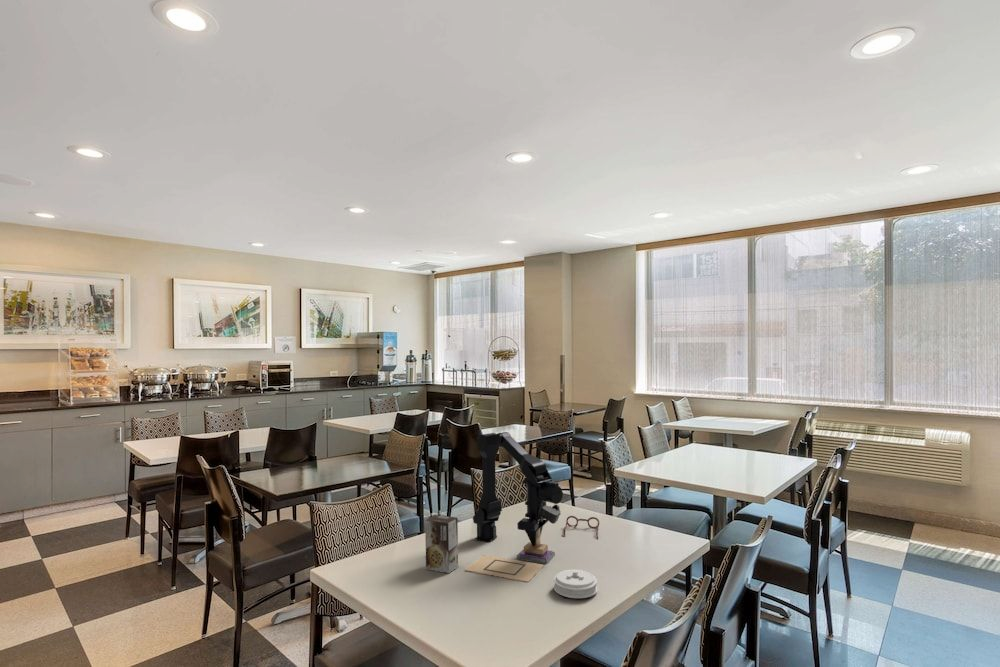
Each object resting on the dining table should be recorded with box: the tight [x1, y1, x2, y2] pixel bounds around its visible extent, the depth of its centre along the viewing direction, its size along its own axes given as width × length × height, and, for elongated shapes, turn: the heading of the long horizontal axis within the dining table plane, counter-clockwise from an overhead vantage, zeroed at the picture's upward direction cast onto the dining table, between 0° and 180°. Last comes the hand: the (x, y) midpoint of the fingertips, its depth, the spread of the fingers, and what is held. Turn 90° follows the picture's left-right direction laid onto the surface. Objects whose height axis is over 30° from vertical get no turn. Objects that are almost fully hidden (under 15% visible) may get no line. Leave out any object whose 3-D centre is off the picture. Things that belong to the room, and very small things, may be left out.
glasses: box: [563, 515, 600, 539], centre depth 208 cm, size 13×13×5 cm
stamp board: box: [464, 554, 545, 583], centre depth 174 cm, size 22×14×1 cm, turn 66°
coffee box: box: [424, 514, 459, 574], centre depth 175 cm, size 9×6×16 cm
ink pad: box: [516, 548, 556, 564], centre depth 183 cm, size 11×8×2 cm
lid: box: [553, 569, 598, 599], centre depth 157 cm, size 13×13×5 cm
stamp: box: [523, 529, 549, 556], centre depth 184 cm, size 7×5×8 cm
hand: (535, 543), depth 183 cm, fingers closed on stamp, 3 cm apart
